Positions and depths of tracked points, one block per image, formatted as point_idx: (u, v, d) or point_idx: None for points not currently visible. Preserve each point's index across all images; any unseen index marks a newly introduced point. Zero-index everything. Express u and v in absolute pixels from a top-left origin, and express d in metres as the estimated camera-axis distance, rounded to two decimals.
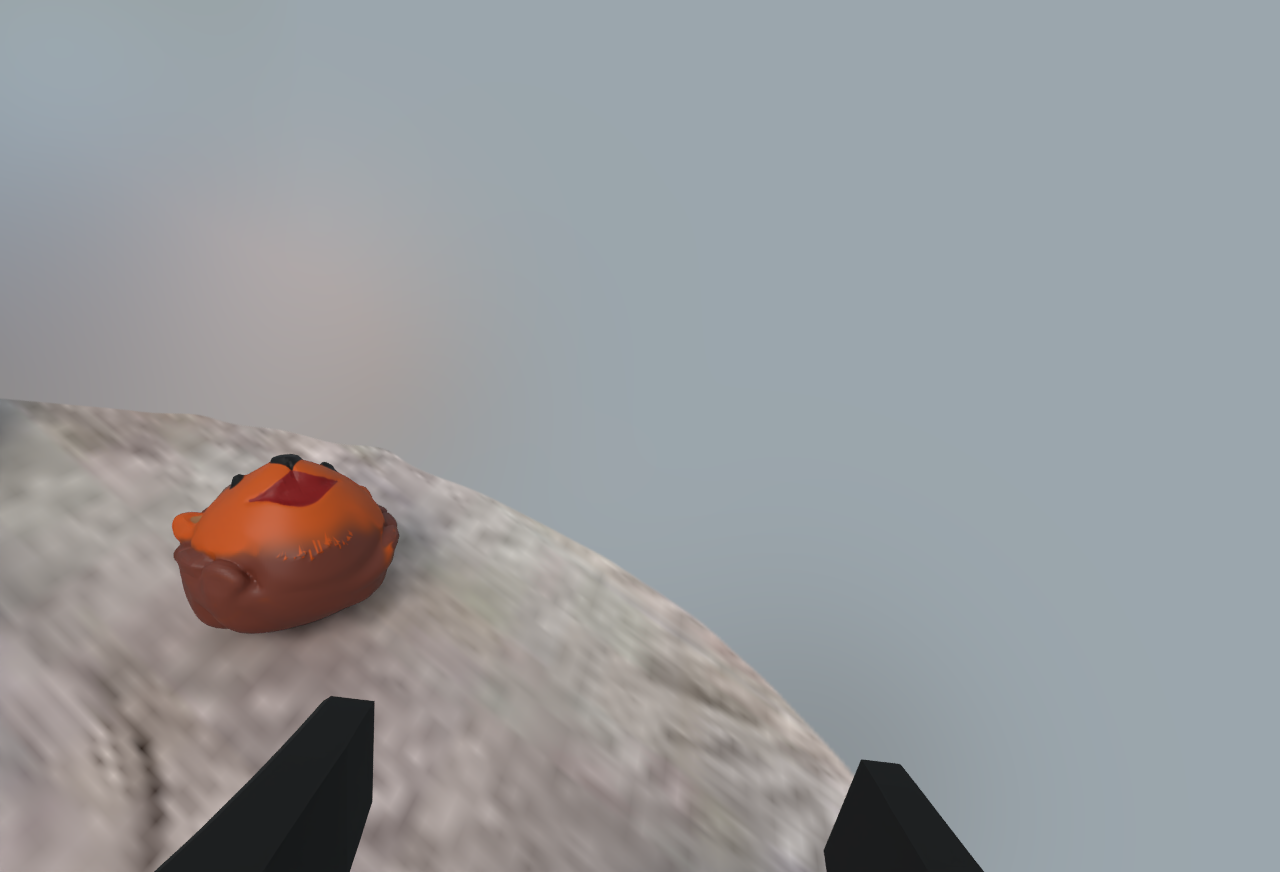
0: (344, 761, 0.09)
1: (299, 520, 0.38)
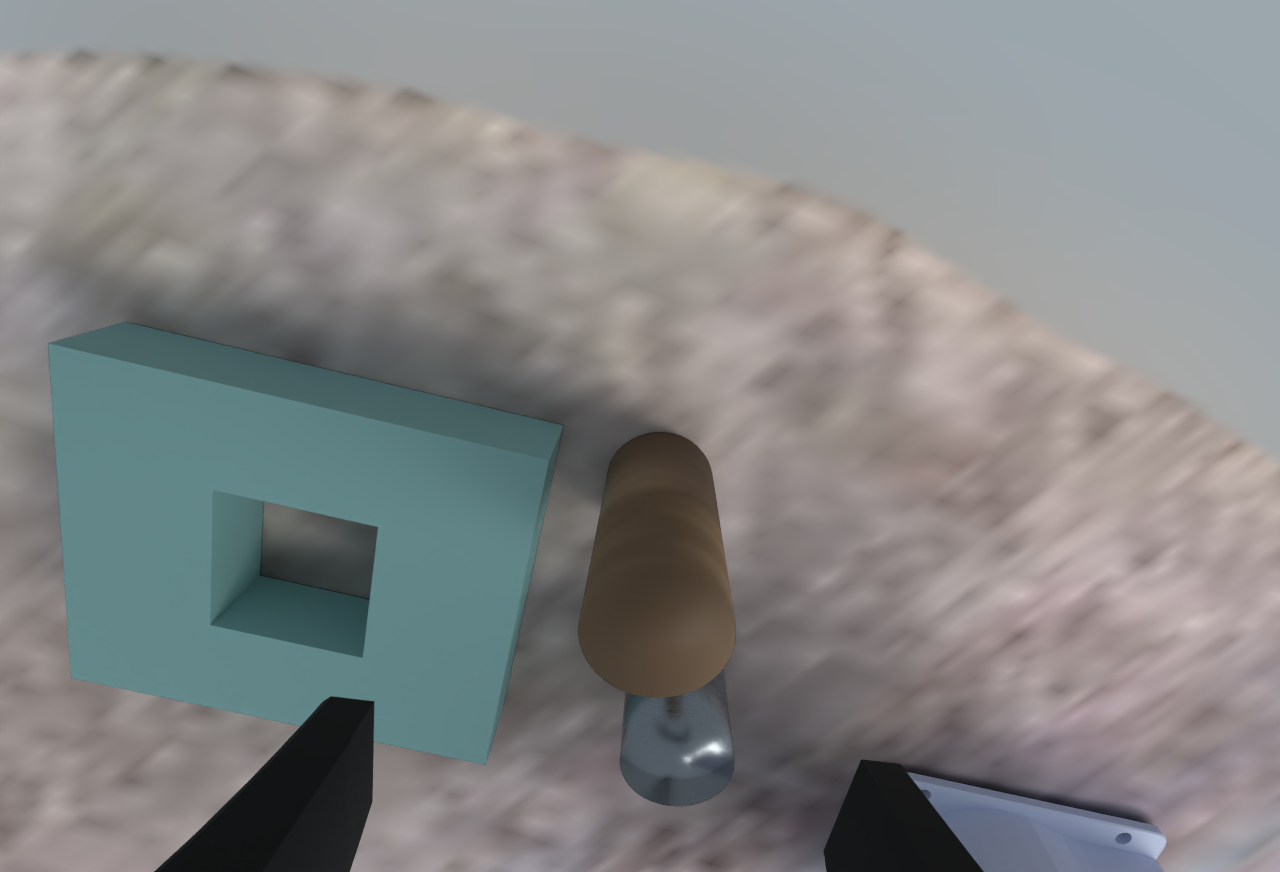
0: (344, 761, 0.09)
1: None
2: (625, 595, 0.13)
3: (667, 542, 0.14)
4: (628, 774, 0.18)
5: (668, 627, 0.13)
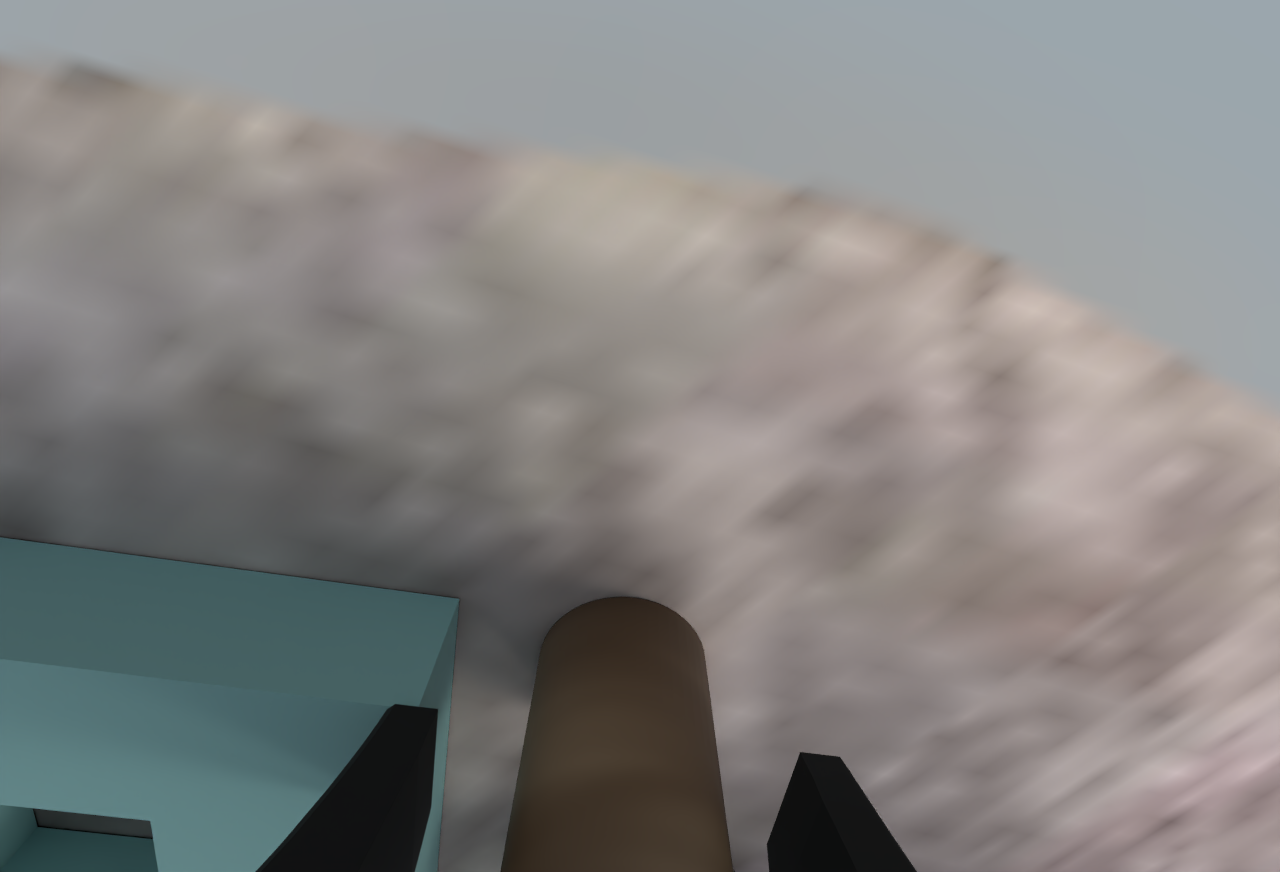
0: (415, 769, 0.09)
1: None
2: None
3: None
4: None
5: None
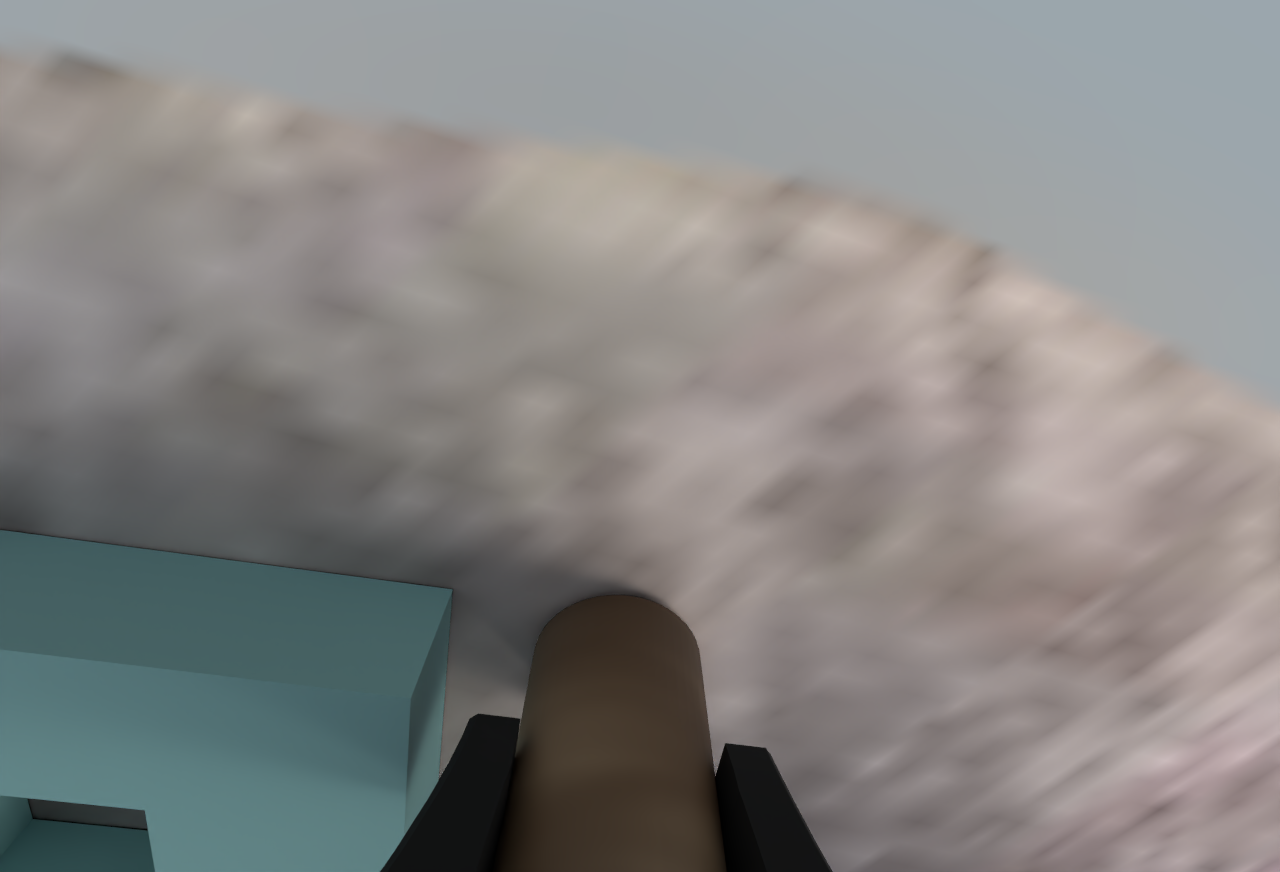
0: (507, 779, 0.09)
1: None
2: None
3: None
4: None
5: None
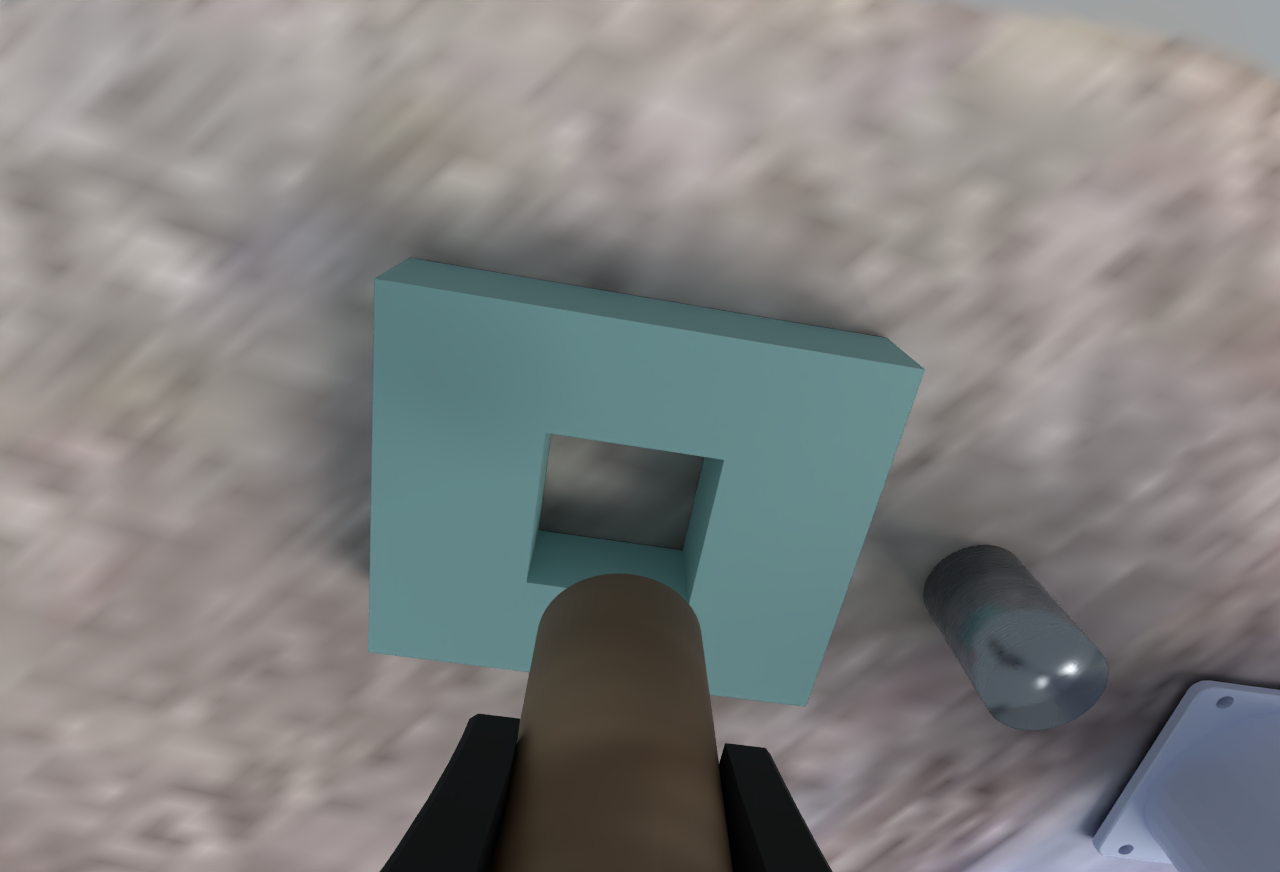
0: (507, 780, 0.09)
1: None
2: None
3: None
4: (991, 701, 0.17)
5: None
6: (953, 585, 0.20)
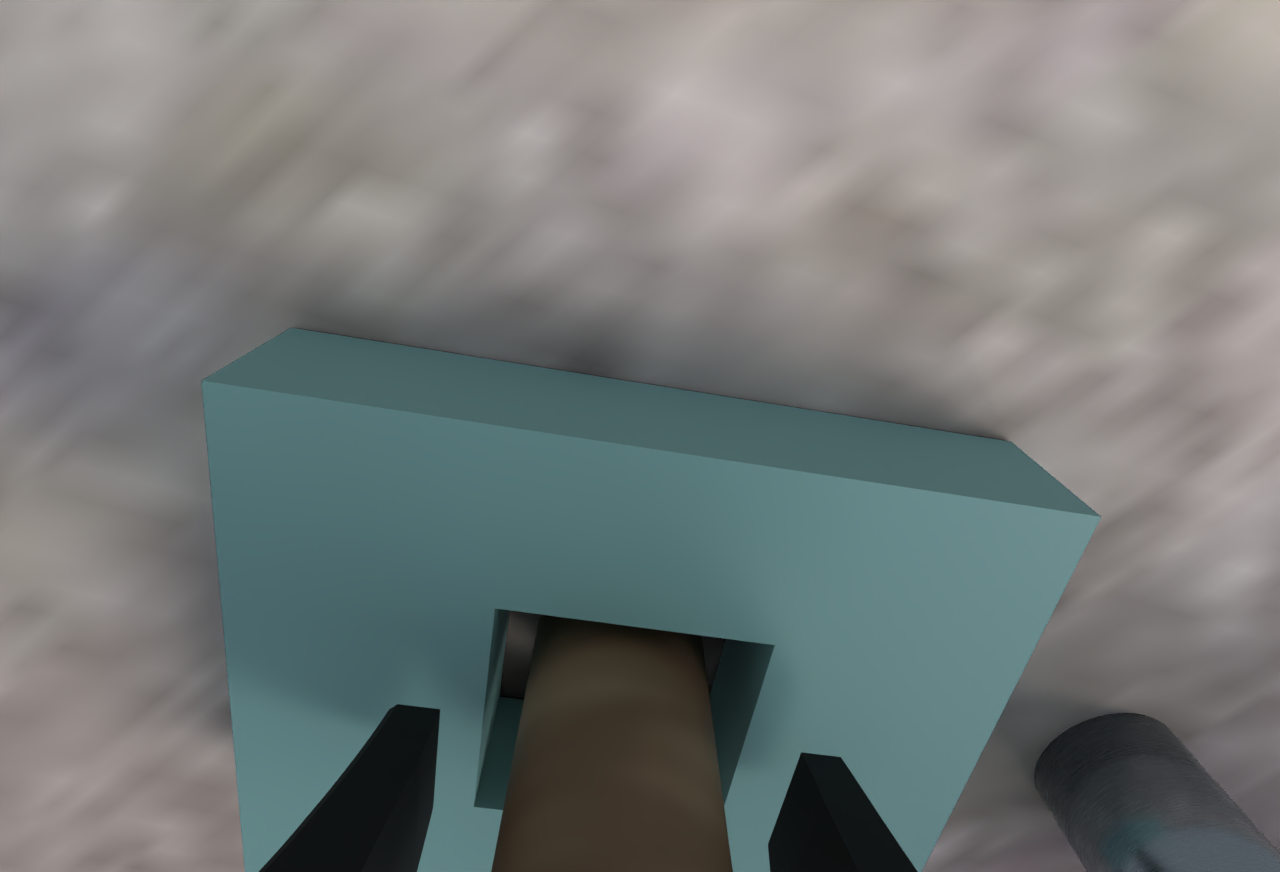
0: (418, 769, 0.09)
1: None
2: None
3: None
4: None
5: None
6: (1088, 779, 0.14)
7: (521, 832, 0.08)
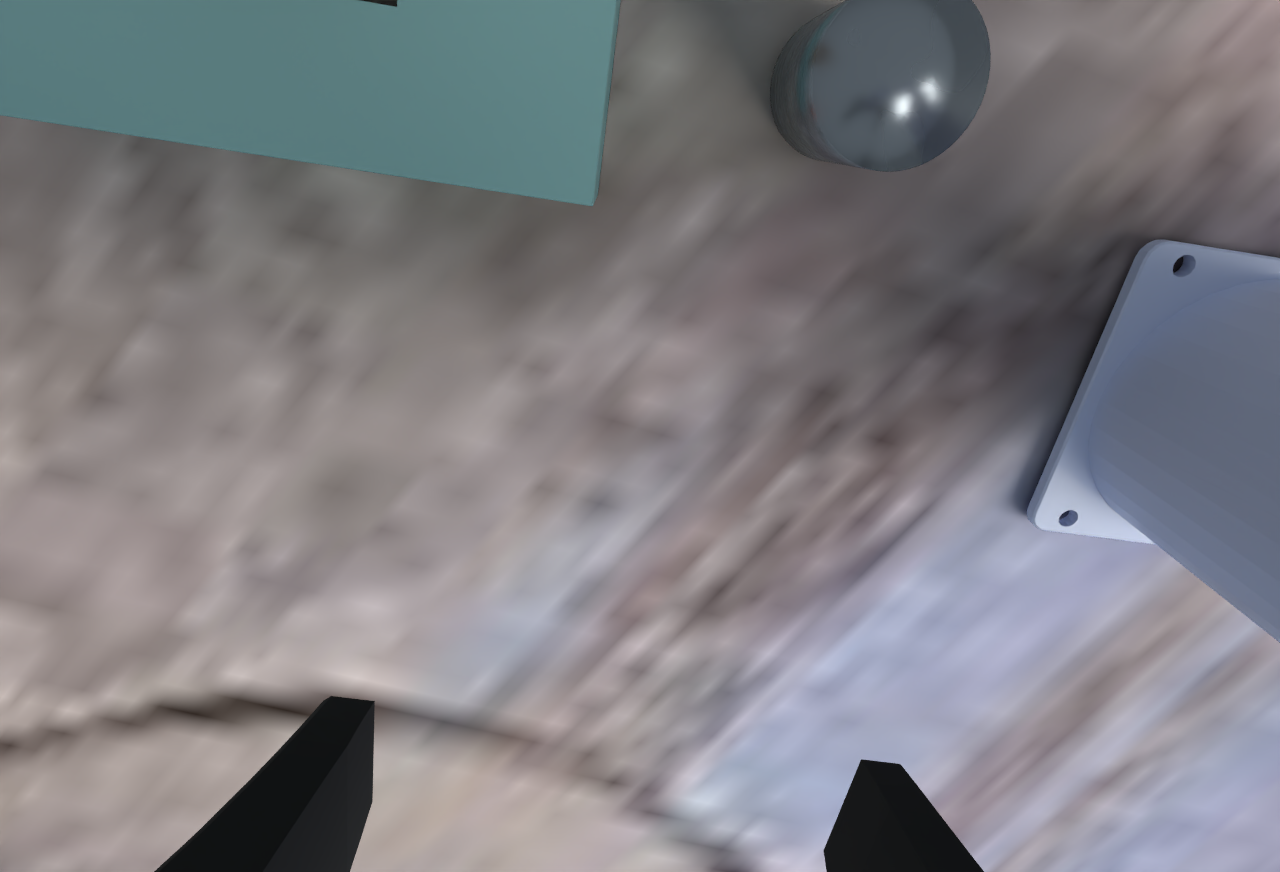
0: (344, 761, 0.09)
1: None
2: None
3: None
4: (825, 112, 0.12)
5: None
6: (795, 40, 0.14)
7: None
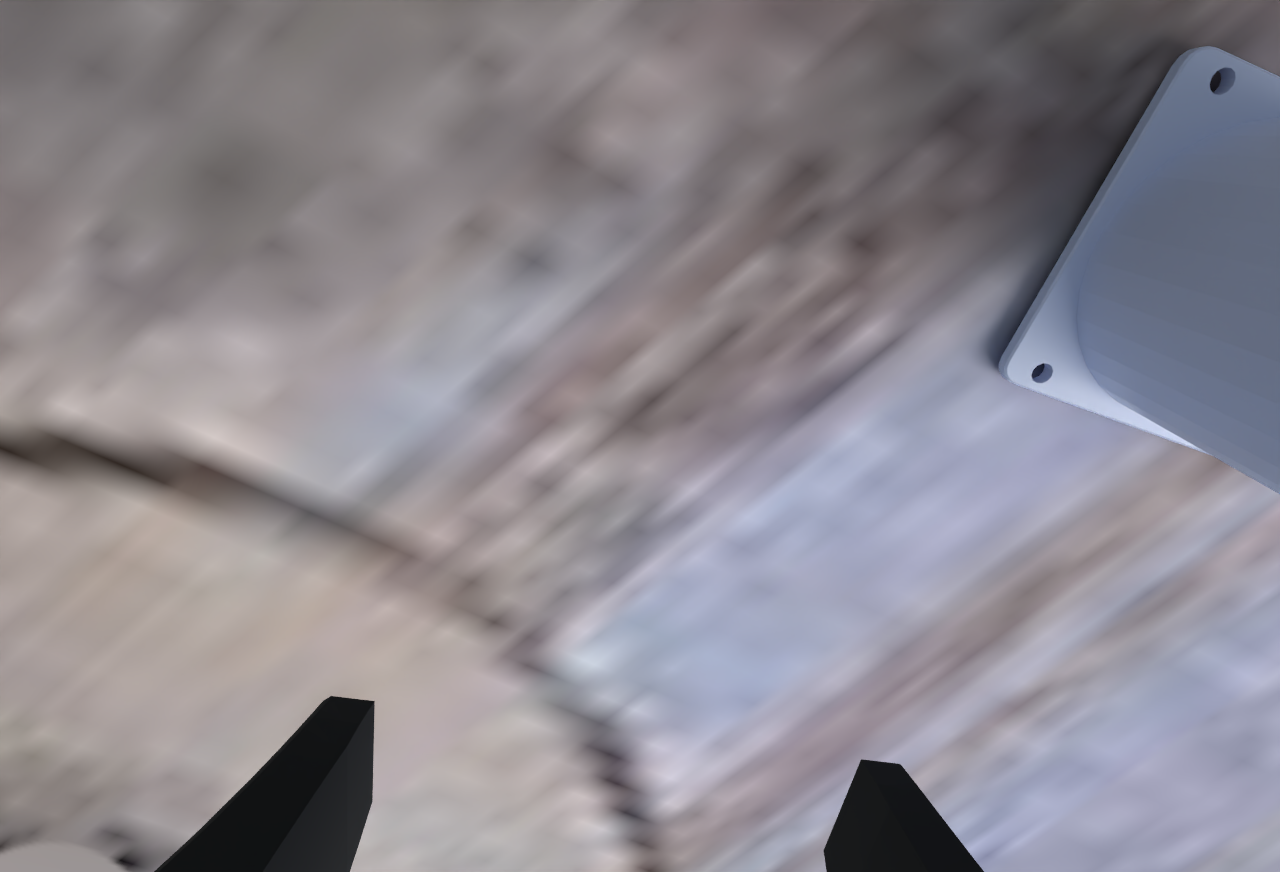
0: (344, 761, 0.09)
1: None
2: None
3: None
4: None
5: None
6: None
7: None
